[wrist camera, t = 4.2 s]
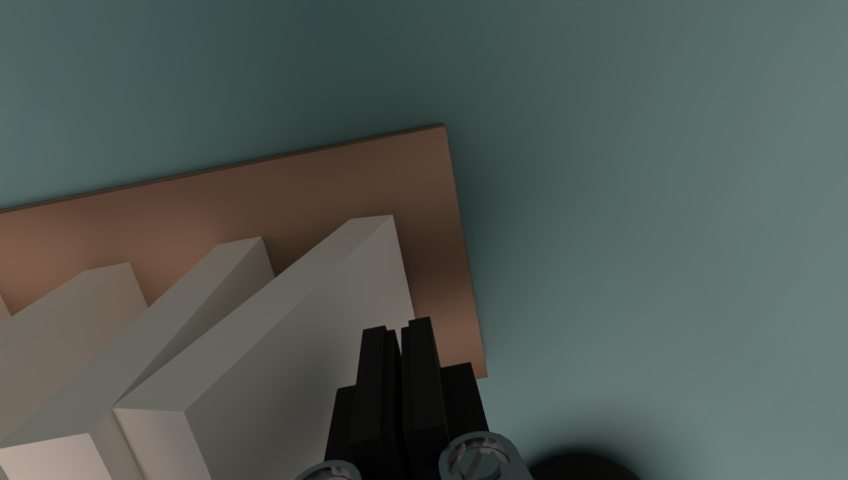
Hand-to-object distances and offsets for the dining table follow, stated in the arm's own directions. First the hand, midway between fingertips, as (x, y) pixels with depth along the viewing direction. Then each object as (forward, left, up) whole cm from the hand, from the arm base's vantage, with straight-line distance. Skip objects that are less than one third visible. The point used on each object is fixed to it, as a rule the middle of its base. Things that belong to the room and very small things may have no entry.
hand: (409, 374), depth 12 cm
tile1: (0, -1, -6) cm, 6 cm away
